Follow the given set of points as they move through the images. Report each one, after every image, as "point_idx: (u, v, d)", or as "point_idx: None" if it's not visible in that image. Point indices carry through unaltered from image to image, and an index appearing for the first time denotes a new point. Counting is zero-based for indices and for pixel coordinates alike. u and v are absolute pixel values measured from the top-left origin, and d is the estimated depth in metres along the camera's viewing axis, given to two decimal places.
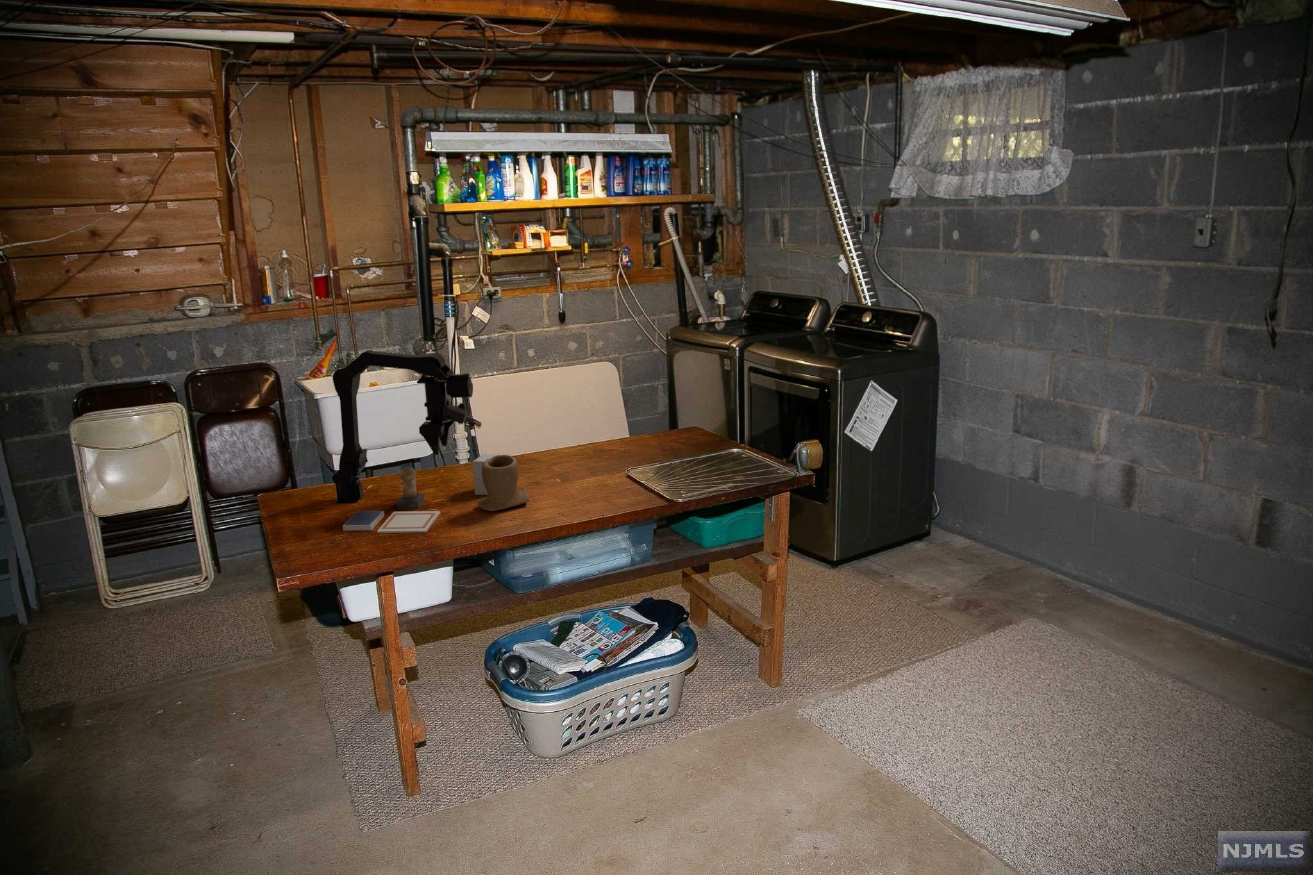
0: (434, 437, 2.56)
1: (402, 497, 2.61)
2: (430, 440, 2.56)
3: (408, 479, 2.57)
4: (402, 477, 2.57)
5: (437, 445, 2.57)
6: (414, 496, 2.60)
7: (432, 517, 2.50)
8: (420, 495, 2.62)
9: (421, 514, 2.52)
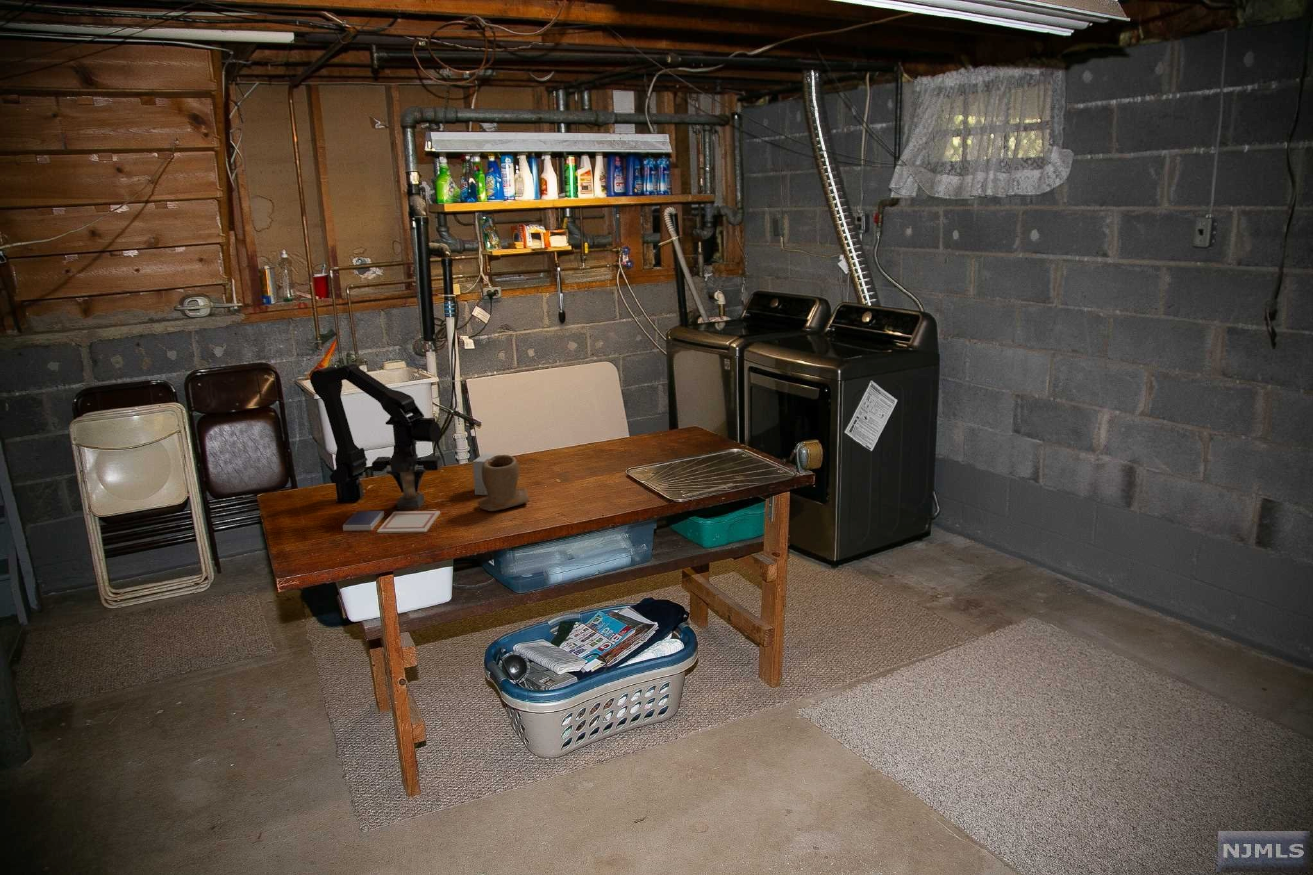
0: None
1: (402, 497, 2.61)
2: None
3: (408, 479, 2.57)
4: (402, 477, 2.57)
5: None
6: (414, 496, 2.60)
7: (432, 517, 2.50)
8: (420, 495, 2.62)
9: (421, 514, 2.52)
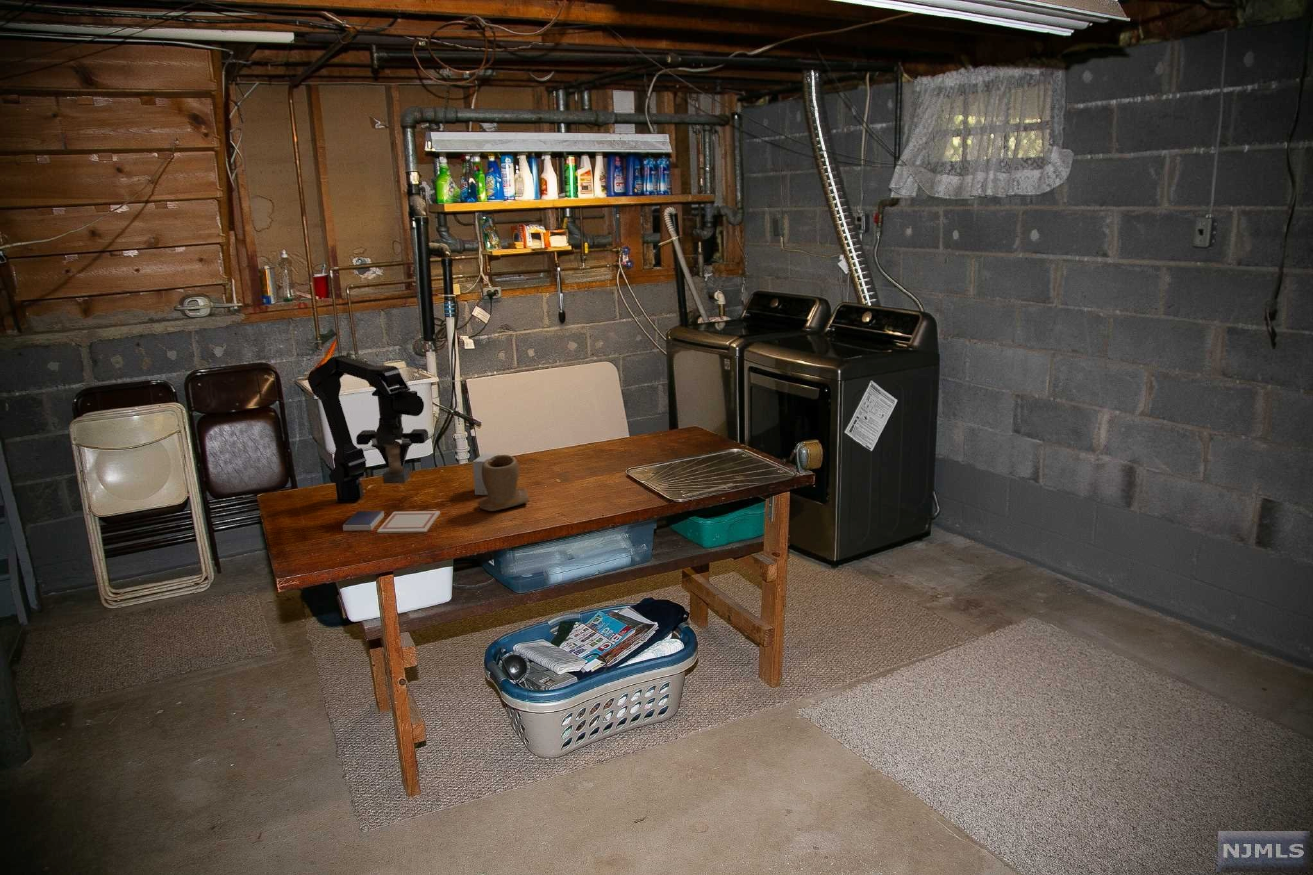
0: None
1: (388, 471, 2.55)
2: None
3: (394, 452, 2.52)
4: (388, 450, 2.52)
5: None
6: (400, 470, 2.54)
7: (432, 517, 2.50)
8: (406, 469, 2.57)
9: (421, 514, 2.52)
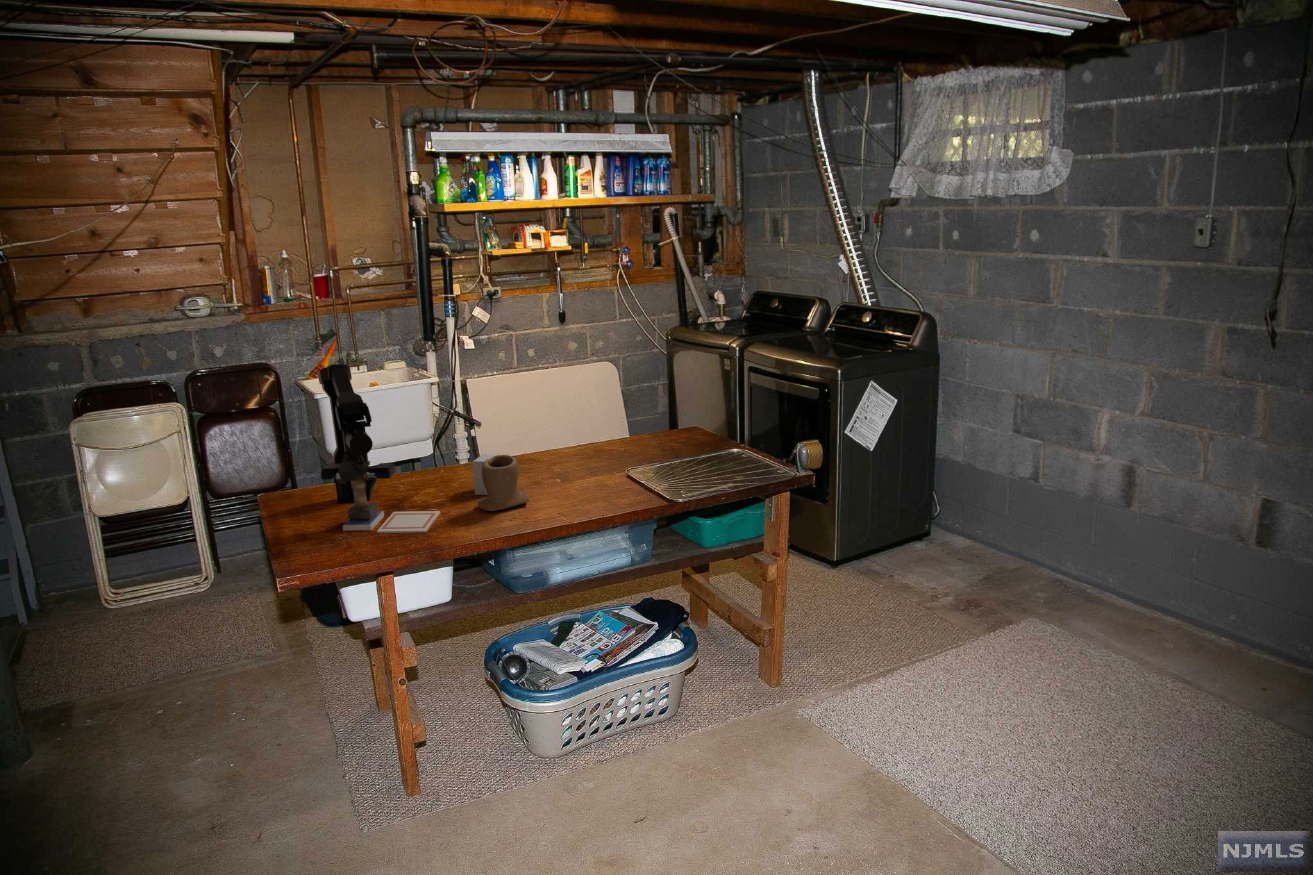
0: None
1: (353, 506, 2.47)
2: None
3: (359, 487, 2.44)
4: (353, 485, 2.44)
5: None
6: (366, 505, 2.46)
7: (432, 517, 2.50)
8: (373, 504, 2.48)
9: (421, 514, 2.52)
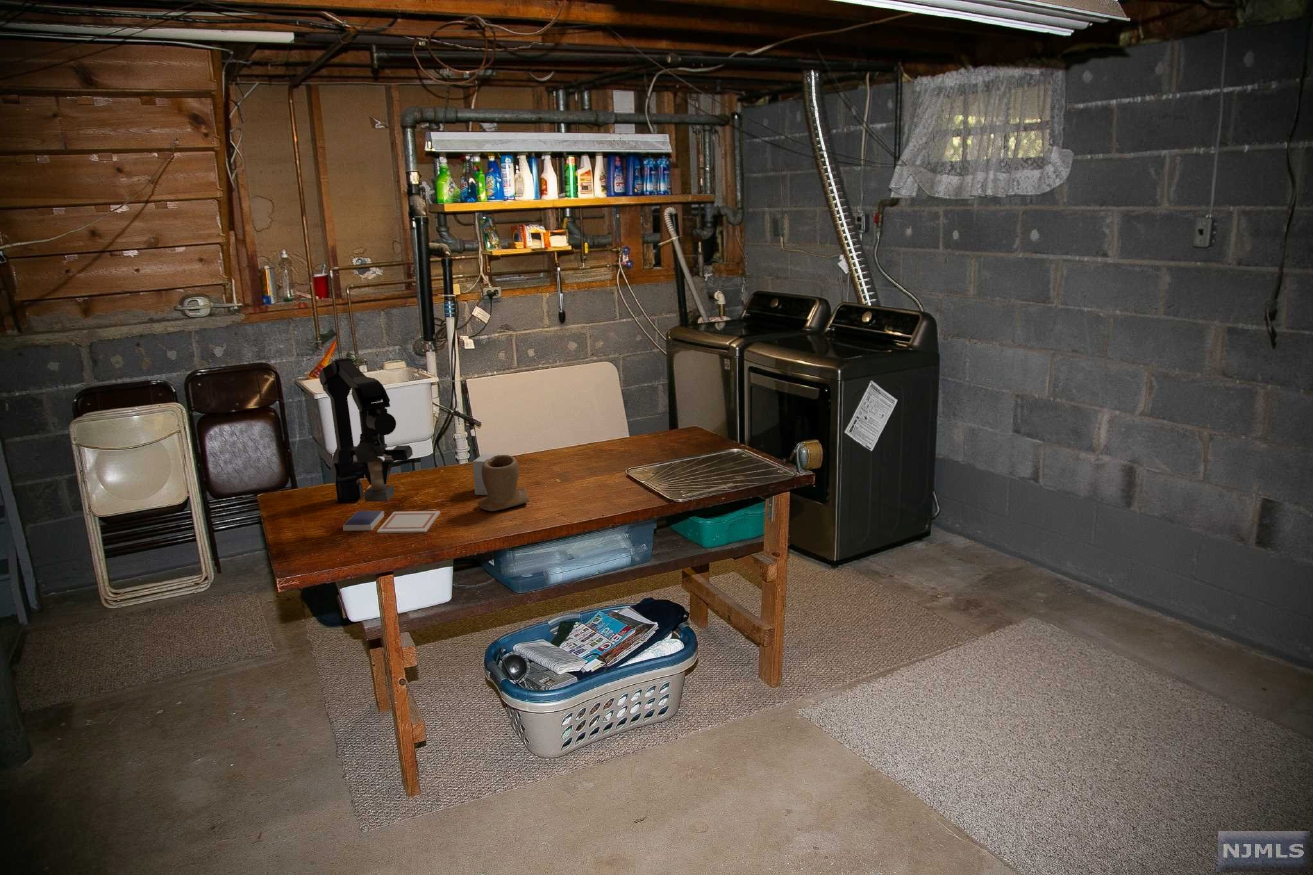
0: None
1: (370, 489, 2.45)
2: None
3: (376, 469, 2.42)
4: (369, 467, 2.42)
5: None
6: (382, 488, 2.44)
7: (432, 517, 2.50)
8: (389, 487, 2.47)
9: (421, 514, 2.52)
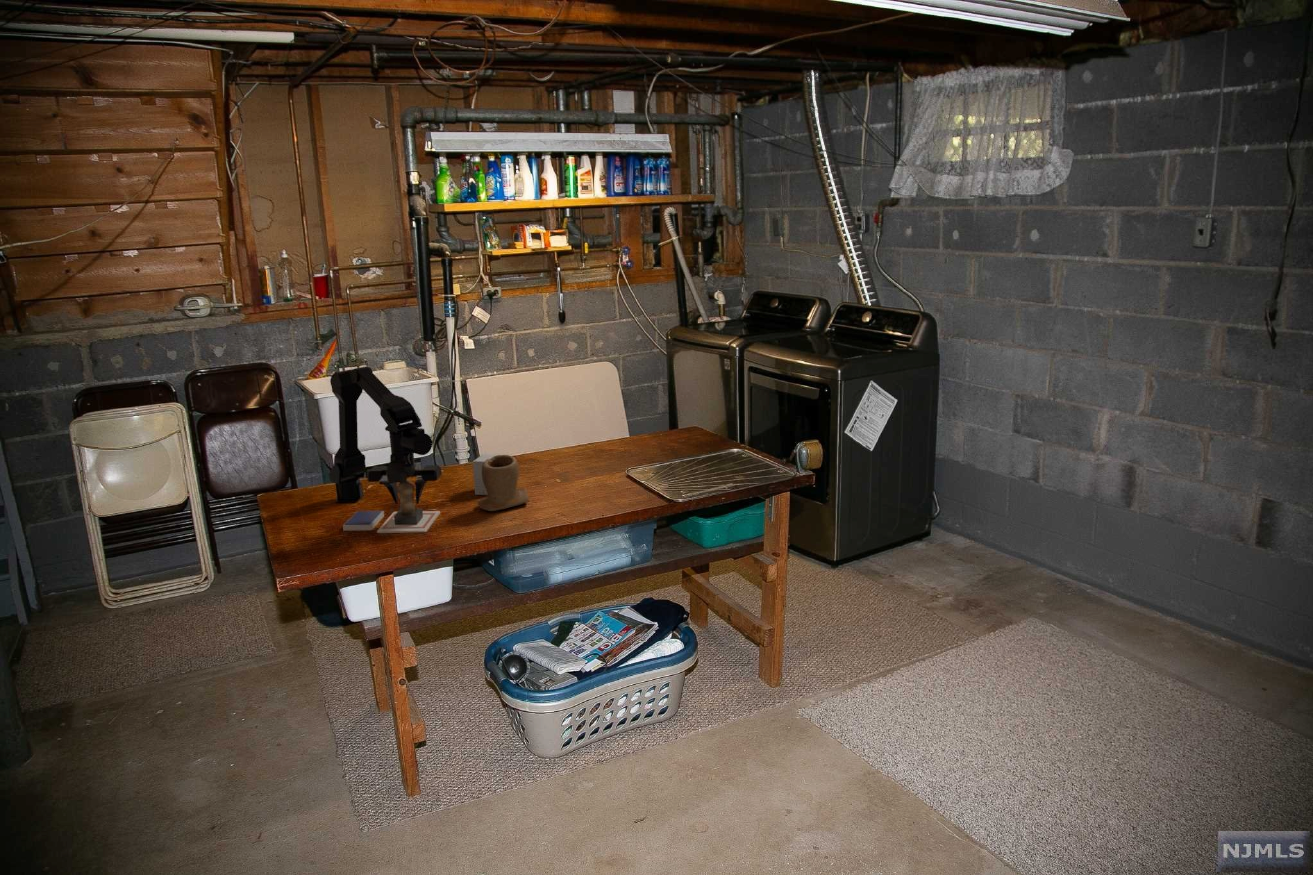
0: None
1: (399, 512, 2.47)
2: None
3: (406, 493, 2.44)
4: (399, 491, 2.44)
5: None
6: (412, 511, 2.46)
7: (432, 517, 2.50)
8: (418, 510, 2.49)
9: None
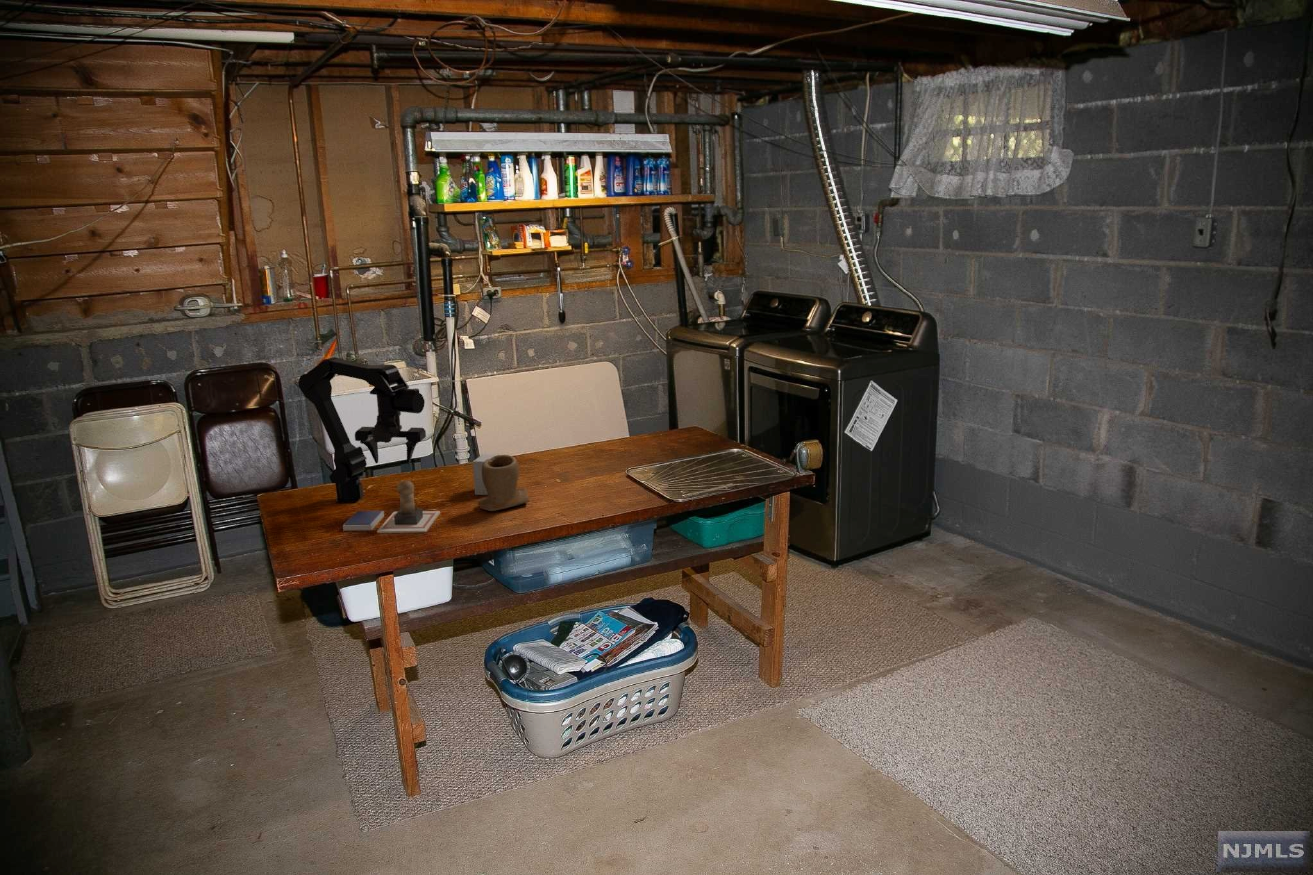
0: None
1: (399, 512, 2.47)
2: None
3: (406, 493, 2.44)
4: (399, 491, 2.44)
5: None
6: (412, 511, 2.46)
7: (432, 517, 2.50)
8: (418, 510, 2.49)
9: None
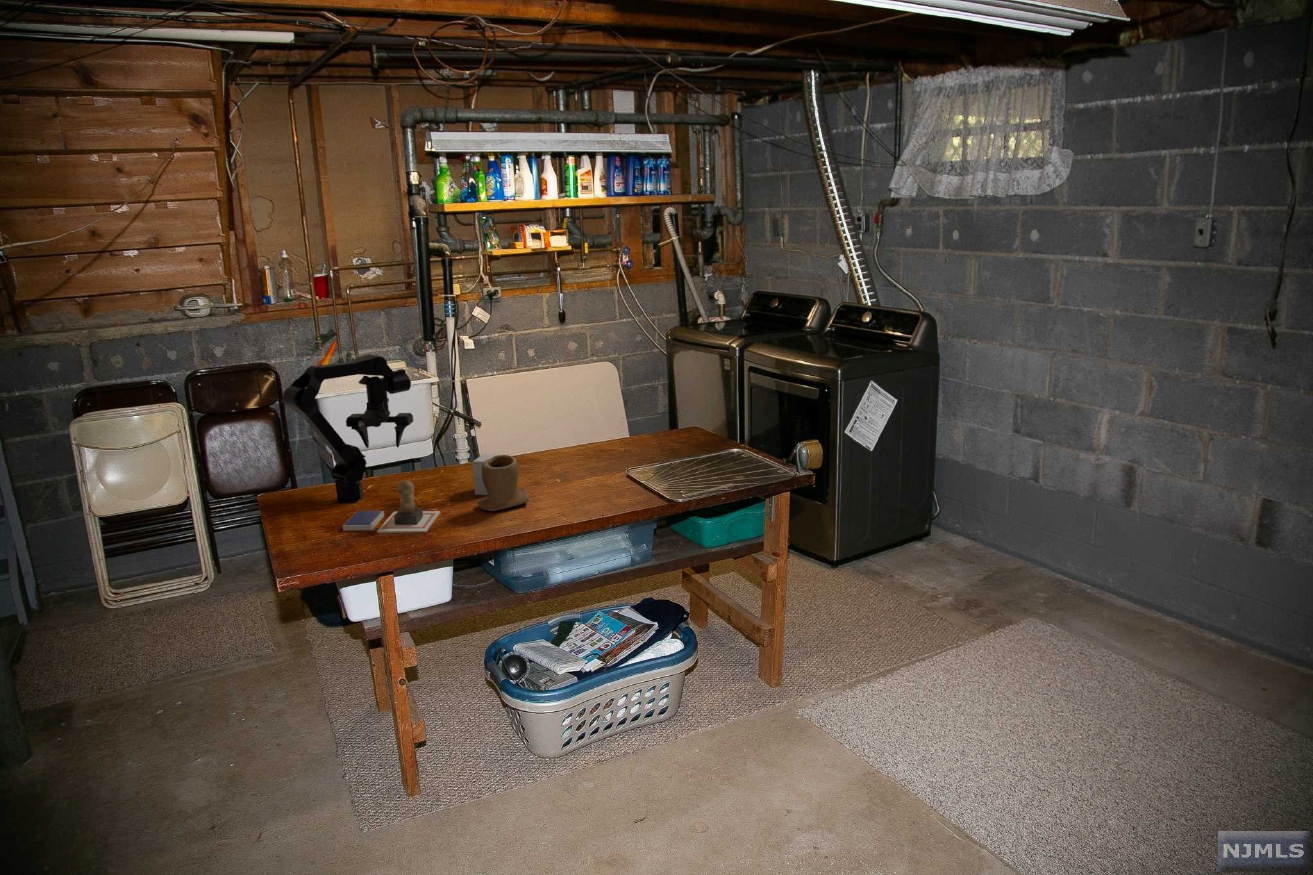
0: None
1: (399, 512, 2.47)
2: None
3: (406, 493, 2.44)
4: (399, 491, 2.44)
5: None
6: (412, 511, 2.46)
7: (432, 517, 2.50)
8: (418, 510, 2.49)
9: None
